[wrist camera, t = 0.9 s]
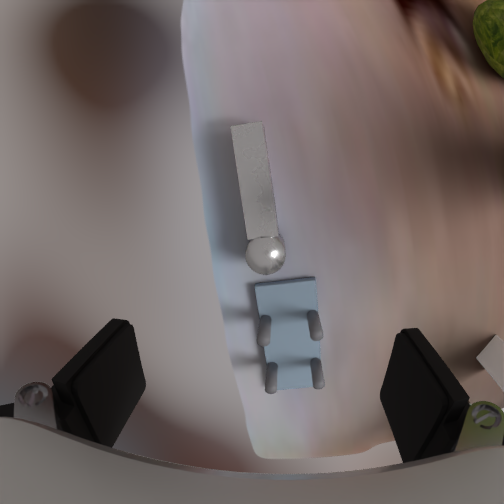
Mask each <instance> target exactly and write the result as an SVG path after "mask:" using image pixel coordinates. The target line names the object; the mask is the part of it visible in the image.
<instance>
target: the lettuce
mask: <svg viewBox="0 0 504 504" xmlns="http://www.w3.org/2000/svg"><path fill="white" fill-rule="evenodd" d="M473 30H474V35H475V38H476V41H477V45H478V46H479V48H480V50H481V51H482V53H483V55H484V57H485V58H486V60H487V62H488V64H489V65H490V66H491V67H492V68H493V69H494V70H495V71H496V72H497V73H498V74H499V75H500V76H501V77H502V78H503V79H504V0H487V1H485V2H483V3H482V4H480V5H479V6H478V7H477V9H476V11H475V13H474V18H473Z"/></svg>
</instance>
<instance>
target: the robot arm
mask: <svg viewBox="0 0 504 504" xmlns="http://www.w3.org/2000/svg"><path fill="white" fill-rule="evenodd" d="M52 381H53V384H54V385H53V386H52V388H51V387H50V386H49V385H48V384H46V383H43V382H31V383H28V384H26V385H24V386H22V387H21V388H20V389H19V390H18V391H17V392H16V395H15V399H14V403H11V404H6V405H1V406H0V504H504V412H503V411H502V410H501V409H500V407H498V406H497V405H495V404H493V403H491V402H486V401H479V402H476V403H473V404H472V405H470V404H469V402H468V400H469V398H470V397H469V396H468V394H467V393H466V392H465V390H464V389H463V387H462V386H461V385H460V383H459V382H458V380H457V379H456V378H455V376H454V375H453V373H452V372H451V371H450V369H449V368H448V367H447V365H446V364H445V363H444V361H443V360H442V359H441V357H440V356H439V355H438V353H437V352H436V351H435V349H434V348H433V347H432V345H431V344H430V343H429V342H428V340H427V339H426V338H425V336H424V335H423V334H422V333H421V331H420V330H419V329H418V328H409V329H402V330H401V332H400V333H398V334H397V335H396V337H395V342H394V346H393V349H392V353H391V357H390V361H389V364H388V368H387V371H386V375H385V378H384V381H383V385H382V388H381V391H380V399H381V402H382V405H383V408H384V410H385V413H386V416H387V418H388V421H389V424H390V427H391V429H392V432H393V435H394V438H395V441H396V444H397V446H398V449H399V452H400V455H401V458H402V461H403V463H401V464H396V465H390V466H384V467H377V468H371V469H363V470H355V471H345V472H333V473H318V474H260V473H244V472H231V471H222V470H213V469H206V468H199V467H193V466H186V465H181V464H175V463H169V462H165V461H161V460H156V459H152V458H147V457H143V456H139V455H135V454H132V453H128V452H124V451H121V450H117V449H114V448H112V446H113V445H114V443H115V441H116V440H117V438H118V436H119V434H120V433H121V431H122V429H123V427H124V425H125V424H126V422H127V420H128V418H129V417H130V415H131V413H132V411H133V410H134V408H135V406H136V405H137V403H138V401H139V399H140V397H141V396H142V394H143V392H144V390H145V387H146V381H145V377H144V373H143V369H142V365H141V361H140V356H139V351H138V347H137V342H136V337H135V332H134V327H133V326H132V325H130V323H129V321H127V320H121V319H112V320H111V321H109V322H108V323H107V324H106V325H105V327H103V328H102V329H101V330H100V331H99V332H98V333H97V334H96V335H95V336H94V337H93V338H92V339H91V340H90V341H89V342H88V343H87V344H86V345H85V346H84V347H83V348H82V349H81V350H80V351H79V352H78V353H77V354H76V355H75V356H74V357H73V358H72V359H71V360H70V361H69V362H68V363H67V364H66V365H65V366H64V367H63V368H62V369H61V370H60V371H59V372H58V373H57V374H56V375H55V376H54V377H53V378H52Z"/></svg>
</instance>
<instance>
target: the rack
mask: <svg viewBox="0 0 504 504" xmlns="http://www.w3.org/2000/svg"><path fill="white" fill-rule="evenodd" d="M255 292H256V299H257V305H258V312H259V318H260V322H259V329H258V336H257V343H258V345H260V346H262V347H264V350H265V357H266V363H267V372H266V384H265V391H266V392H267V393H269V394H274V393H276V391H277V390H284V389H295V388H305V387H314V388H315V389H322V388H323V387H324V386H325V382H324V377H323V371H322V366H321V358H320V340H321V339H322V338H323V331H322V327H321V323H320V319H319V315H318V302H317V288H316V279H315V277H310V278H301V279H293V280H284V281H275V282H266V283H257V284H255Z"/></svg>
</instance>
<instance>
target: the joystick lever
mask: <svg viewBox="0 0 504 504" xmlns="http://www.w3.org/2000/svg"><path fill="white" fill-rule="evenodd" d="M230 127H231V134H232V140H233V147H234V154H235V160H236V167H237V174H238V180H239V187H240V193H241V200H242V207H243V213H244V220H245V226H246V233H247V239H248V240H250V242H249V244H248V246H247V249H246V253H245V257H246V262H247V264H248V266H249V267H250V268H251V269H252V270H253V271H255V272H256V273H259V274H263V275H268V274H273V273H275V272H277V271H278V270H279V269H280V268H281V267H282V266H283V264H284V261H285V243H284V240H283V238H282V236H281V235H280V234H279V233H278V222H277V215H276V207H275V200H274V193H273V186H272V179H271V172H270V165H269V158H268V151H267V145H266V138H265V132H264V127H263V124H262V121H260V122H254V123H247V124H241V125H235V126H230Z"/></svg>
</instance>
